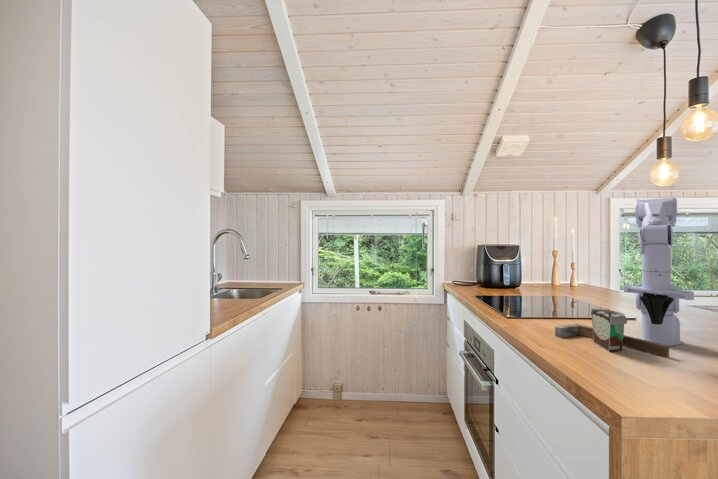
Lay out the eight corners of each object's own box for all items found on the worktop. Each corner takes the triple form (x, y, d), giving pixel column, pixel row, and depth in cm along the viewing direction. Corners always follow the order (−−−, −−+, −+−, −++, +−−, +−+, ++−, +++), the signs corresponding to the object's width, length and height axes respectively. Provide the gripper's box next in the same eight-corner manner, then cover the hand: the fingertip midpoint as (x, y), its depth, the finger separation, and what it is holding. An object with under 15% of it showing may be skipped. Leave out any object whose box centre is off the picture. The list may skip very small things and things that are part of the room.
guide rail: (575, 332, 115) (575, 323, 115) (669, 356, 91) (669, 345, 91) (555, 336, 112) (555, 326, 112) (646, 361, 87) (646, 350, 87)
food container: (637, 355, 93) (637, 317, 93) (612, 353, 94) (611, 317, 94) (613, 341, 105) (613, 309, 105) (591, 341, 106) (590, 308, 106)
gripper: (616, 269, 94) (616, 319, 94) (681, 274, 81) (682, 332, 81) (632, 268, 97) (633, 317, 97) (698, 273, 83) (699, 329, 83)
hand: (656, 323), depth 89 cm, fingers closed
